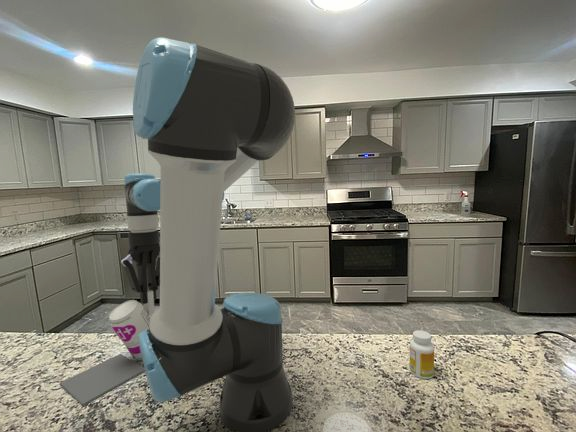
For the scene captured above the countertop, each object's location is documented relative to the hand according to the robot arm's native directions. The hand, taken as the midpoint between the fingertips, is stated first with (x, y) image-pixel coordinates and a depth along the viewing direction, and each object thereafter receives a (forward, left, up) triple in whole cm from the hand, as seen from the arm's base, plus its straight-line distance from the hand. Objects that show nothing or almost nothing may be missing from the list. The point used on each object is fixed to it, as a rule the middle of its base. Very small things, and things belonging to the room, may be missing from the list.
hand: (149, 312), depth 78 cm
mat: (0, +12, -12) cm, 17 cm away
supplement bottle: (-66, -29, -12) cm, 73 cm away
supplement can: (0, +1, -10) cm, 10 cm away
